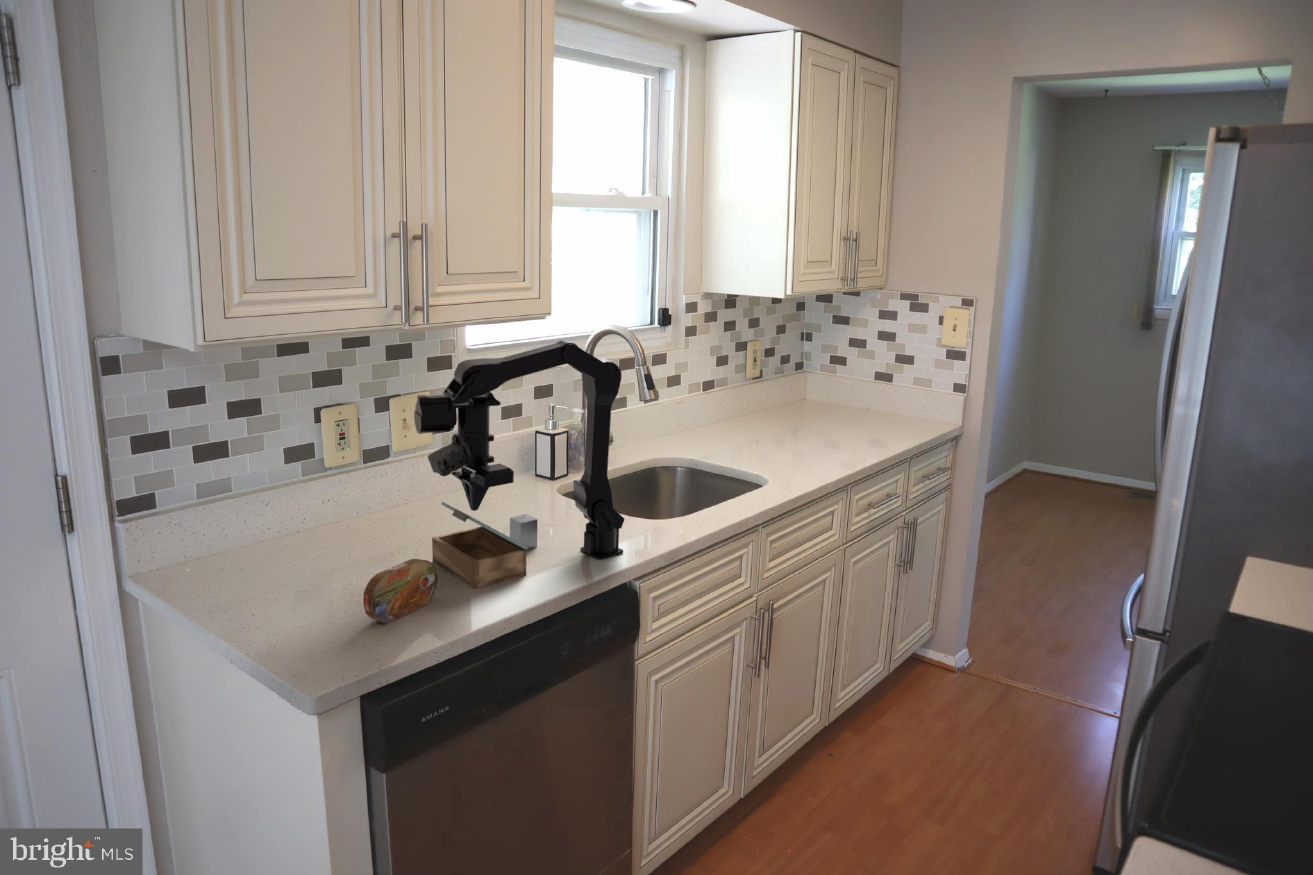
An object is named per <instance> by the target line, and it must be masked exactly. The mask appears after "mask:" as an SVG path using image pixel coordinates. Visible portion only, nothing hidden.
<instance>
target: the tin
mask: <svg viewBox="0 0 1313 875" xmlns="http://www.w3.org/2000/svg"><path fill="white" fill-rule="evenodd" d="M436 568H437V567H435V564H433V562H431V561H429V560H427V559H420V558H411V559H408V560H406V561H403V562H402V563H398V564H397V565H394V566H392V567H389V568H388V569H385V570H383V571H380V572H379V573H376V574H374V576H372V577H371V579H369V581H368V583H367V584H366V586H365V588H364V591H363V609H364V612H365V614H366V615H367V616H368V617H369V618H370V619H373V620H375V621H378V622H381V623H383V624H391V623H393V622H395V621H397V620H398V619H401V618H403V617H405V616H406V615H409V614H410V613H412V612H415V611H417V610H419V609H421V608H422V607H424V606H426V605H427V604H429V602H430V601H431V600H432V598H434V595H435V593H436V590H437V587H438V581H439V580H438V571H437V569H436Z"/></svg>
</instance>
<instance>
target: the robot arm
mask: <svg viewBox="0 0 1313 875" xmlns="http://www.w3.org/2000/svg"><path fill="white" fill-rule="evenodd" d="M563 365H569V366H570V367H571V368H572V369H574V370H576V371H577V372H578V373H581V379H582V380H581V381H582V388H583V391H584V394H585V397H586V401H587V412H586V413H587V414H586V415H587V417H586V433H585V436H586V437H585V451H584V454H585V455H584V471H583V474H582V476H581V478H580V480H577V479H576V480H573V484H572V485H573V494H572V497H571V499H572V501H574V504H575V507H576V508H577V509H578V510H579V511H580V512H581V513H582V515H583V517H584V518H585V519H587V520H588V522H587V523H585V531H584V533H583V546H581V547H580V549H579V550H580V551H582V552H583V553H585V554H587V555H590V557H594V558H596V559H598V560H602V559H606V558H609V557H613V556H616V555H619V554H623V553H624V550H623V549H622V548H620V547H619V542H620V541H619V540H620V539H619V538H620V529H622V528H623V525H624V522H625V518H624V517H623V516H622V515H621V514H620V513H619V512H618V511H617V510H616V509H615V508H614V495H613V490H612V487H611V483H610V481H609V476H608V469H609V455H610V454H609V453H610V437H611V436H610V435H611V417H612V406H613V404H614V402H615V401H616V399H617V396H618V395H619V391H620V386H621V383H622V377H623V374H622V371H621V368H620V367H619V366H618V365H617V363H614V362H612V361H610V360H608V359H605V358H603V357H601V356H593V355H592V354H590V353H589V352H587V351H585V350H583V349H582V348H581V347H579V346H578V345H577V344H576V343H575V342H572V341H569V340H566V339H561V340H559V341H557V342H555V343H551V344H547V345H544V346H541V347H537V348H533V349H530V350H526V351H522V352H518V353H514V354H511V355H507V356H504V357H499V358H498V357H497V358H495V357H493V358H490V357H489V358H488V357H487V358H485V357H484V358H473V359H466V360H463V361H461V362H459V363H458V364H457V366H456V367H455V369H454V374H453V376H454V377H453V378H452V379H451V381H450V382H449V383H448V385H447V387H445V389H444V390H443V392H442V394H439V395H438V394H437V395H426V394H419V395H417V396H416V401H417V402H416V403H415V410H414V411H413V415H414V416H413V417H414V426H415V430H416V432H417V434H418V435H419V434H420V435H421V434H433V433H435V434H436V433H447V432H451V431H452V429H455V426H456V425H457V433H453V434H452V436H451V443H450V444H447V445H444V446H442V447H441V448H439V449H437V450H435V451H433V452H431V453H429V455H427V460H428V461H429V465H430V466H431V470H432V472H433V473H434V474H435V473H436V474H438V475H439V476H441V477H447V476H449V475H452V476H453V477H455V478H456V479H457V480H458V481H459V482H460V483H461V484H462V487H463V490H464V492H465V496H466V500H467V502H468V504H469V508H470V510H471V511H473V512H475V511H478V510H479V509H480V506H481V504H482V502H483V500H484V498H485V496H486V495H487V492H488V490H489V489H490V488H491V487H492V488H494V487H497V486H498V487H499V486H503V485H507V484H513V483H514V482H515V470H513V469H512V468H511V467H509V466H507V465H504V464H502V463H495V457H494V456H492V455H491V454H490V442H494V441H495V435H493V434H491V433H490V407H495V406H497V407H498V406H501V401H500V400H498V399H497V398H496V397H495V395H494V394H493V391H495V390H497V389H499V388H500V387H501V386H503V385H504V384H505V383H507V382H509V381H512V380H514V379H518V378H521V377H524V376H528V375H531V374H536V373H539V372H542V371H546V370H550V369H553V368H556V367H560V366H563ZM490 463H495V464H490Z"/></svg>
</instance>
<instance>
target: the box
mask: <svg viewBox="0 0 1313 875" xmlns="http://www.w3.org/2000/svg"><path fill="white" fill-rule="evenodd" d="M431 542H432V543H431V544H432V545H431V548H432V549H431V550H432V552H431V553H432V563H434V564H436V566H439V567H440V568H442V569H444V570H446V571H447V572H448V573H450V574H451V575H453V576H455V577H456V578H458V579H459V580H461V581H463V582H464V583H466V584H467V585H469V586H470V587H472V588H474V589H479V588H483V587H487V586H490V585H495V584H497V583H502V582H505V581H508V580H512V579H516V578H520V577H523V576H526V575H527V556H528V555H527V550H528V549H527V550H525V549H524V548H522V547H520V546H518V545H516V544H514V543H512V542H510V541H509V540H507V539H505V538H503V537H501V536H499V535H497V534H495V533H493V532H492V531H490V530H488V529H486V528H484V527H482V526H477V527H472V528H469V529H464V530H459V531H456V532H451V533H445V534H442V535H437V536H433V537H431Z"/></svg>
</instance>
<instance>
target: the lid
mask: <svg viewBox="0 0 1313 875" xmlns="http://www.w3.org/2000/svg"><path fill="white" fill-rule="evenodd" d="M440 504H441V506H443V507H445V508H447V509H449V510H451V511H452V514H451V516H453V517H455V518H456V519H458V520H460V521H463V522H464V523H466V522H467V519H468V520H470V521H471V522H473V523H475V524H477V525H479V527H481V526H482V527H484V528H486V529H488V530H490V531H492V532H493V533H495V534H497V535H499V536H501V537H503V538H505V539H507V540H509V541H510V542H512V543H514V544H516V545H518V546H520V547H522V548H524V549H525V550H528V549H527V548H528V547H527V546H525V545H523V544H521V543H519V542H517V541H516V540H514V539H512V538H510V536H508V535H506V534H505V533H503V532H500V531H499V530H497V529H495V528H493V527H491V526H490V525H488V524H486V523H483V521H480V520H479V519H476V518H474V517H472V516H471V515H468V514H467V513H466V512H463V511H461V510H459V509H457V508H455V507H454V506H451V505H450V504H448V503H446V502H444V501H442V502H441V503H440Z"/></svg>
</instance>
